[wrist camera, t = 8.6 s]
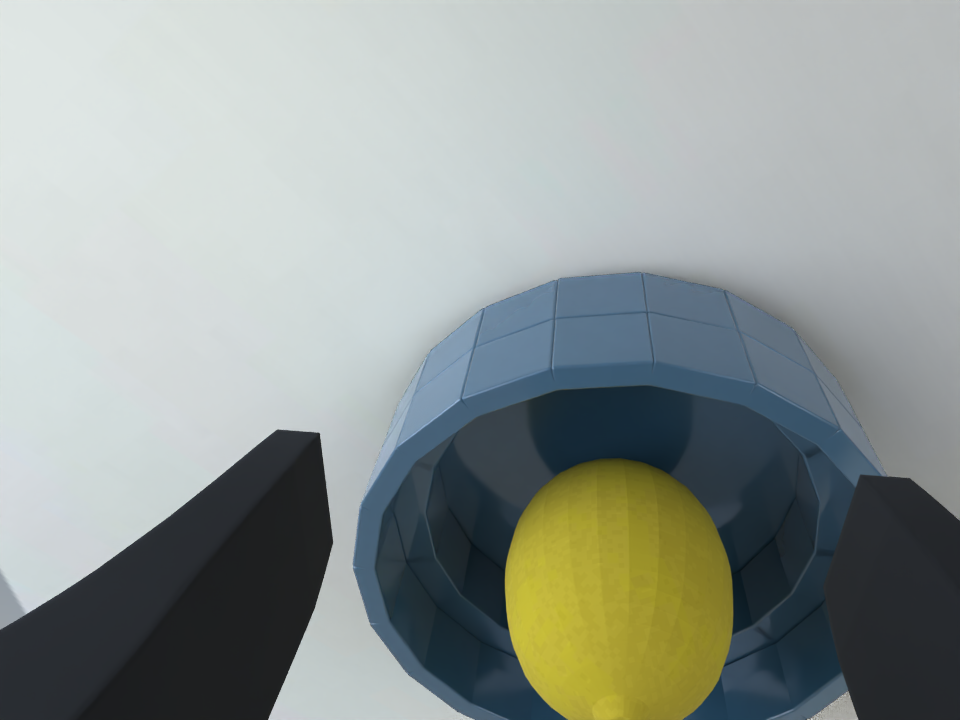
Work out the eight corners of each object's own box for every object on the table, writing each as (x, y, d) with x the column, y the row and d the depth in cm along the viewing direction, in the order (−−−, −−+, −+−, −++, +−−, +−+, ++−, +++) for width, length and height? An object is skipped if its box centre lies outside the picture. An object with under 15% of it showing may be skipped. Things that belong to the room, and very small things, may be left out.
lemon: (736, 519, 23) (799, 783, 16) (566, 569, 25) (557, 824, 18) (666, 373, 21) (704, 608, 14) (484, 440, 22) (439, 676, 16)
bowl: (939, 495, 22) (1022, 636, 18) (585, 670, 28) (586, 809, 24) (654, 158, 18) (673, 236, 14) (310, 440, 24) (250, 557, 20)
